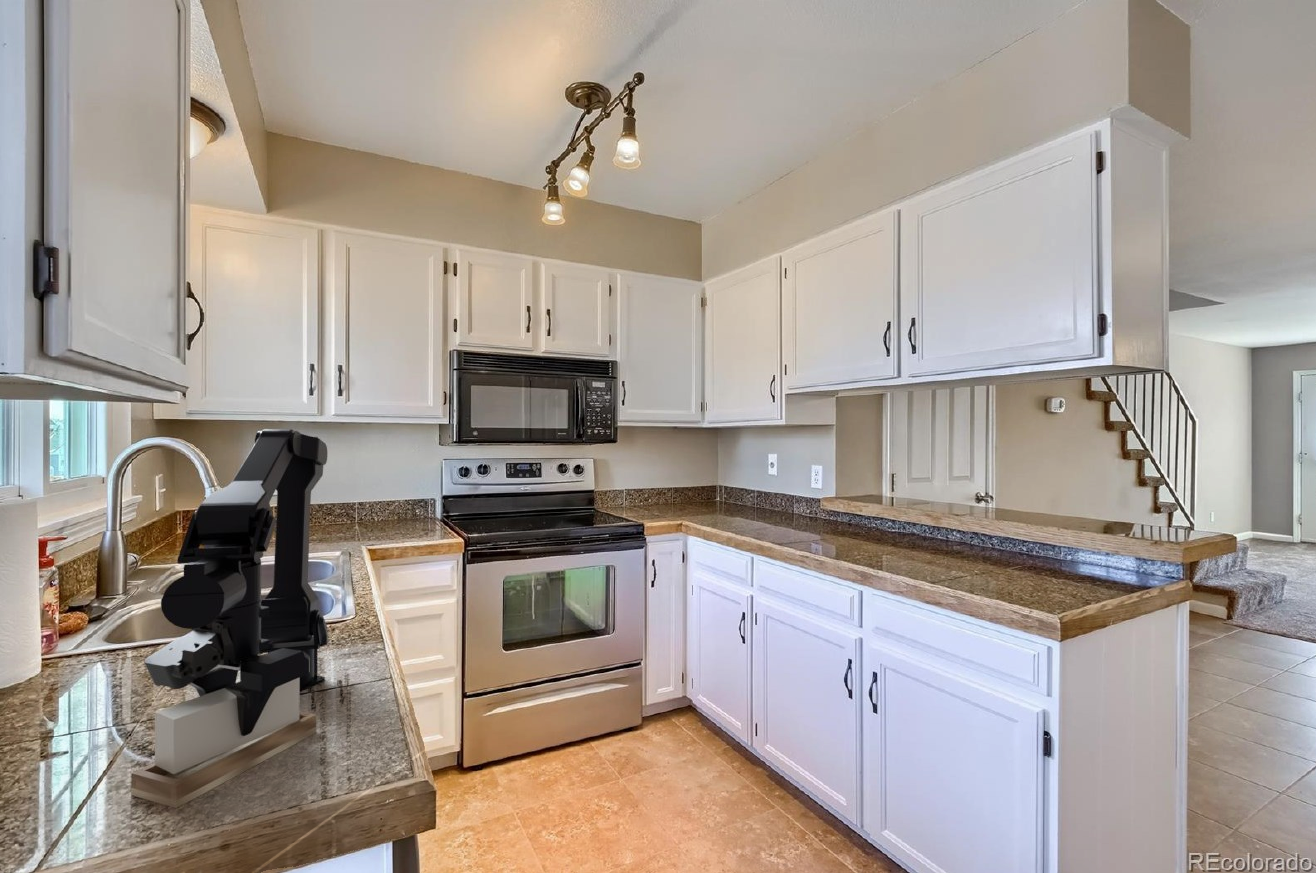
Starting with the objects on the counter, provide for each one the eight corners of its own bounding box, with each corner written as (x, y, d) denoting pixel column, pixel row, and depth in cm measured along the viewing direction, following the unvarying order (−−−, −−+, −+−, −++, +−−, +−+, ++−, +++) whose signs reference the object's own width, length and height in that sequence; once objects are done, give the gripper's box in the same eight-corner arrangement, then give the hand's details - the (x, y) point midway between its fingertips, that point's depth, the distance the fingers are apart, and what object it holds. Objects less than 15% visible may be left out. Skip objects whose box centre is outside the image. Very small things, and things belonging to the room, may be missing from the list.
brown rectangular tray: (276, 724, 82) (276, 706, 82) (316, 732, 80) (316, 714, 80) (131, 795, 66) (131, 773, 66) (176, 808, 63) (176, 785, 63)
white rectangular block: (280, 713, 80) (280, 668, 80) (299, 720, 78) (299, 674, 78) (154, 764, 67) (155, 711, 67) (173, 774, 66) (173, 719, 66)
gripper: (104, 614, 68) (103, 751, 68) (220, 631, 62) (219, 782, 62) (205, 590, 79) (205, 709, 79) (313, 603, 73) (312, 732, 73)
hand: (232, 731), depth 73 cm, fingers closed on white rectangular block, 4 cm apart
